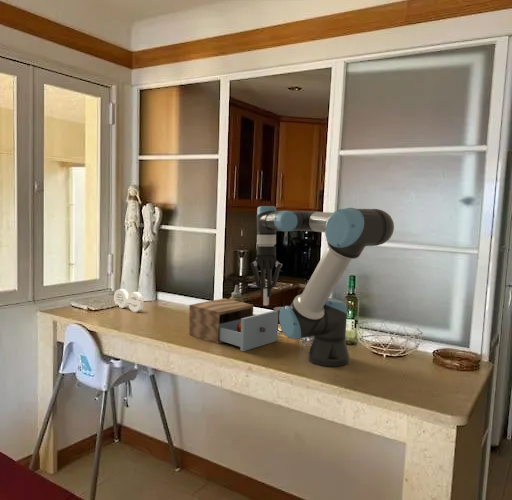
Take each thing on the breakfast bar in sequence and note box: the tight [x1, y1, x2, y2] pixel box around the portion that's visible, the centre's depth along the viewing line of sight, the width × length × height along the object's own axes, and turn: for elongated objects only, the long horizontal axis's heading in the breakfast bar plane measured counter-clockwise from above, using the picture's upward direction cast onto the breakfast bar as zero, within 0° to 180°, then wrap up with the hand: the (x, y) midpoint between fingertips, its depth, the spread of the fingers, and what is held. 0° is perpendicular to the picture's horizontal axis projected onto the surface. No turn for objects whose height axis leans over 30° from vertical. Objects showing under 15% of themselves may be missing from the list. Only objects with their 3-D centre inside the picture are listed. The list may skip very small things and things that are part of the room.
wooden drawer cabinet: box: [188, 297, 254, 345], centre depth 208 cm, size 18×21×13 cm
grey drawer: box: [219, 310, 279, 352], centre depth 198 cm, size 20×21×13 cm
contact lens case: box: [113, 288, 145, 313], centre depth 250 cm, size 22×2×10 cm, turn 52°
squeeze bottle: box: [229, 284, 244, 303], centre depth 230 cm, size 8×8×18 cm
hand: (266, 304), depth 190 cm, fingers closed
